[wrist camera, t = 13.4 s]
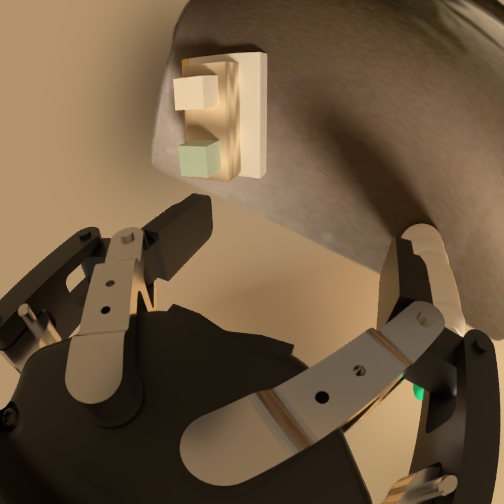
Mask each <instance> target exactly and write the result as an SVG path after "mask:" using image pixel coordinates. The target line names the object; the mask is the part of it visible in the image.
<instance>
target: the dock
mask: <svg viewBox="0 0 504 504" xmlns="http://www.w3.org/2000/svg"><path fill="white" fill-rule="evenodd" d="M214 62H234V63H239V97H240V147H241V173H240V174H239V175H237V176H245V177H253V178H261V177H262V176H263V175H264V174H266V134H267V54H266V53H262V52H248V53H232V54H221V55H212V56H204V57H196V58H190V59H183V60H182V78H183V66H190V65H197V64H205V63H214ZM184 116H185V130H186V142H188V141H187V128H186V114H185V110H184Z"/></svg>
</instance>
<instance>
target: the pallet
mask: <svg viewBox="0 0 504 504" xmlns="http://www.w3.org/2000/svg"><path fill="white" fill-rule="evenodd" d="M208 75H218V98H219V106H215V107H210V108H206V109H191V110H185V114H186V128H187V141H188V142H189V141H191V140H220V152H221V170H220V171H218V172H217V173H215V174H214V175H212V176H211V177H209V178H201V177H191V178H199V179H208V180H217V181H225V182H229V181H231V180H232V179H233V178H235V177H236V176H237V175H239V174H240V173H241V147H240V97H239V63H234V62H214V63H205V64H197V65H190V66H183V78H186V77H195V76H208Z"/></svg>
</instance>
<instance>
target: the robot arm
mask: <svg viewBox="0 0 504 504" xmlns="http://www.w3.org/2000/svg"><path fill="white" fill-rule="evenodd" d="M212 229H213V221H212V206H211V198H210V197H209V196H208V195H202V194H196V193H193V194H191V195H190V196H188V197H187V198H186V199H185V200H183V201H181V202H180V203H177V204H175V205H172V206H171V207H170V208H168V209H167V210H165V212H163V213H161V214H160V215H159V216H158V217H156V218H154V219H153V220H152V221H150V222H149V223H148V224H146V225H145V226H144V227H142V228H141V229H139V228H135V227H132V228H126V229H123V230H120V231H118V232H117V233H116V234H114V236H113V237H112V238H101V234H100V231H99V229H98V228H96V227H88V228H85V229H82V230H80V231H78V232H77V233H75V234H74V235H73V236H72V237H70V238H69V239H68V240H67V241H65V242H64V243H63V244H62V245H60V246H59V247H58V248H57V249H56V250H54V251H53V252H52V253H51V254H49V255H48V256H47V257H46V258H45V259H44V260H42V262H40V263H39V264H38V265H37V266H36V267H35V268H33V269H32V270H31V271H30V272H29V273H28V274H27V275H26V276H24V277H23V279H21V280H20V281H19V282H18V283H17V284H16V285H15V286H14V287H13V288H12V289H11V290H10V291H9V292H8V293H7V294H6V295H5V296H4V297H3V298H2V299H1V300H0V354H1V355H2V356H3V357H4V358H5V359H6V360H7V362H8V363H9V364H10V365H11V366H13V367H14V368H15V369H16V370H17V371H18V372H19V373H20V374H21V375H20V379H19V382H18V384H17V387H16V389H15V392H14V394H13V396H12V398H11V400H10V402H9V403H8V405H7V406H6V407H5V408H3V409H2V410H0V504H372V500H371V496H370V494H369V492H368V489H367V487H366V485H365V482H364V480H363V478H362V476H361V473H360V471H359V469H358V466H357V464H356V461H355V459H354V457H353V455H352V453H351V450H350V448H349V445H348V443H347V441H346V439H345V436H344V433H345V432H347V431H348V430H349V429H351V428H352V427H353V426H354V425H356V424H357V423H358V422H359V421H360V420H362V419H363V418H364V417H365V416H366V415H367V414H368V413H369V412H370V411H371V410H373V409H374V408H375V407H376V406H377V405H378V404H379V403H380V402H381V401H383V400H384V399H385V398H386V397H387V396H388V395H389V394H390V393H391V392H392V391H393V390H394V389H395V388H397V387H398V385H400V384H401V382H403V381H404V379H406V380H408V381H410V382H412V383H414V384H415V385H417V386H419V387H421V388H423V389H424V391H423V400H422V409H421V416H420V422H419V428H418V434H417V440H416V445H415V450H414V455H413V459H412V463H411V467H410V471H409V475H408V476H405V477H403V478H401V479H399V480H398V481H397V482H396V483H395V484H394V485H393V486H392V487H391V489H390V491H389V492H388V494H387V496H386V498H385V499H384V501H383V502H382V503H381V504H491V502H492V497H493V492H494V487H495V481H496V473H497V466H498V457H499V445H500V392H499V379H498V369H497V361H496V354H495V348H494V345H493V343H492V341H491V339H490V338H489V337H488V336H487V335H486V334H485V333H483V332H482V331H480V330H476V329H472V330H470V331H468V332H467V333H466V334H465V336H464V337H462V336H460V335H458V334H456V333H454V332H453V331H451V330H449V329H447V328H446V327H445V320H444V317H443V315H442V313H441V312H440V310H439V309H438V308H437V307H435V306H434V305H433V299H432V293H431V287H430V282H429V276H428V271H427V266H426V263H425V262H424V260H423V259H422V258H421V256H420V255H416V254H414V252H413V247H412V242H411V240H407V239H404V238H400V237H396V236H394V237H393V239H392V242H391V245H390V248H389V251H388V254H387V257H386V259H385V262H384V265H383V268H382V271H381V276H380V282H379V303H378V317H377V329H376V330H375V329H374V328H370V329H368V330H366V331H365V332H363V333H362V334H361V335H360V336H358V337H357V338H355V339H354V340H352V341H351V342H349V343H348V344H346V345H345V346H343V347H342V348H340V349H339V350H338V351H336V352H334V353H333V354H331V355H330V356H328V357H326V358H325V359H323V360H322V361H320V362H318V363H317V364H315V365H314V366H312V367H310V368H309V367H308V366H307V365H306V364H305V363H304V362H302V361H301V360H299V359H298V358H297V357H295V356H293V355H292V354H293V350H294V345H293V344H289V343H286V342H283V341H279V340H276V339H273V338H270V337H266V336H263V335H257V334H247V333H238V332H230V331H226V330H223V329H222V328H220V327H219V326H217V325H216V324H214V323H212V322H211V321H210V320H208V319H207V318H205V317H204V316H202V315H201V314H199V313H196V312H194V311H191V310H188V309H186V308H183V307H181V306H178V305H176V304H173V305H172V306H171V307H170V308H169V310H168V311H157V299H156V296H157V295H156V294H157V293H156V282H155V280H156V279H157V278H161V279H163V280H166V281H169V280H170V279H171V278H172V277H173V276H174V275H175V274H176V273H177V272H178V270H180V268H181V267H182V266H183V265H184V264H185V263H186V262H187V261H188V260H189V259H190V258H191V257H192V256H193V255H194V254H195V253H196V252H197V251H198V250H199V249H200V247H202V245H203V244H204V243H205V242H206V241H207V240H208V239H209V238H210V236H211V234H212ZM80 264H81V266H82V269H83V271H84V274H85V276H86V277H85V278H84V279H83V280H82V281H81V282H80V283H79V284H78V285H77V286H76V287H75V288H74V289H73V290H72V291H71V292H70V293H69V291H68V289H67V286H66V279H67V277H68V275H69V274H70V273H71V272H72V271H73V270H75V269H76V268H77V267H78V266H79V265H80ZM80 323H81V324H80ZM79 324H80V330H79V332H78V334H77V335H74V336H73V337H71V338H68V337H69V336H70V335H71V334H72V333H73V331H74V330H75V329H76V328H77V327H78V325H79ZM67 338H68V339H67Z"/></svg>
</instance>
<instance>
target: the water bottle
mask: <svg viewBox="0 0 504 504" xmlns="http://www.w3.org/2000/svg"><path fill="white" fill-rule="evenodd" d="M401 238H404V239H407V240H411V242H412V247H413V252H414V254H416V255H420V256H421V258H422V259H423V260H424V262H425V263H426V266H427V271H428V276H429V282H430V287H431V293H432V299H433V305H434V306H435V307H437V308H438V309H439V310H440V312H441V313H442V315H443V317H444V320H445V327H446V328H447V329H449V330H451V331H453V332H454V333H456V334H458V335H460V336H462V337H464V333H465V319H464V316H463V313H462V312H461V305H460V299H459V294H458V290H457V286H456V282H455V279H454V276H453V273H452V270H451V268H450V265H449V260H448V256H447V253H446V251H445V248H444V245H443V241H442V238H441V236H440V234H439V232H438V231H437V230H436V229H435V228H434V227H433V226H431V225H428V224H416V225H413V226H411V227H409V228H408V229H407V230H406V231H405V232H404V233H403V235H402V237H401ZM413 390H414V394H415V396H416V398H417V399H419V400H421V401H422V400H423V391H424V389H423V388H421V387H419V386H417V385H415V384H414V383H413Z"/></svg>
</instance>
